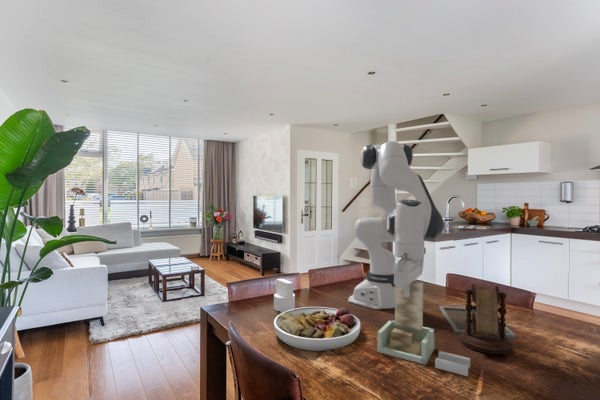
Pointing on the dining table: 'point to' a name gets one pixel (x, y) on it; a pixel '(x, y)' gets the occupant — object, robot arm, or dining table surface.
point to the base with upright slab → (284, 296)
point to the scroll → (486, 322)
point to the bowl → (317, 328)
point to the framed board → (458, 317)
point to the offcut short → (402, 336)
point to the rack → (419, 335)
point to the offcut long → (406, 347)
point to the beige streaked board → (409, 306)
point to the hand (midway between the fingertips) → (408, 294)
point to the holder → (452, 363)
